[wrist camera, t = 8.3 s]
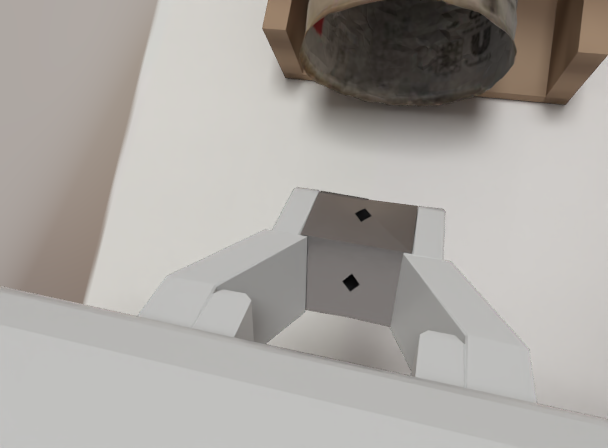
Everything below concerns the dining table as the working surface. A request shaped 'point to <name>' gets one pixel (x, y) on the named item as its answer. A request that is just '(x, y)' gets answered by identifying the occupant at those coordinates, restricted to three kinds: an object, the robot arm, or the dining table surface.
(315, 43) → the spray can
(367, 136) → the dining table surface
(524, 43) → the walnut trough
